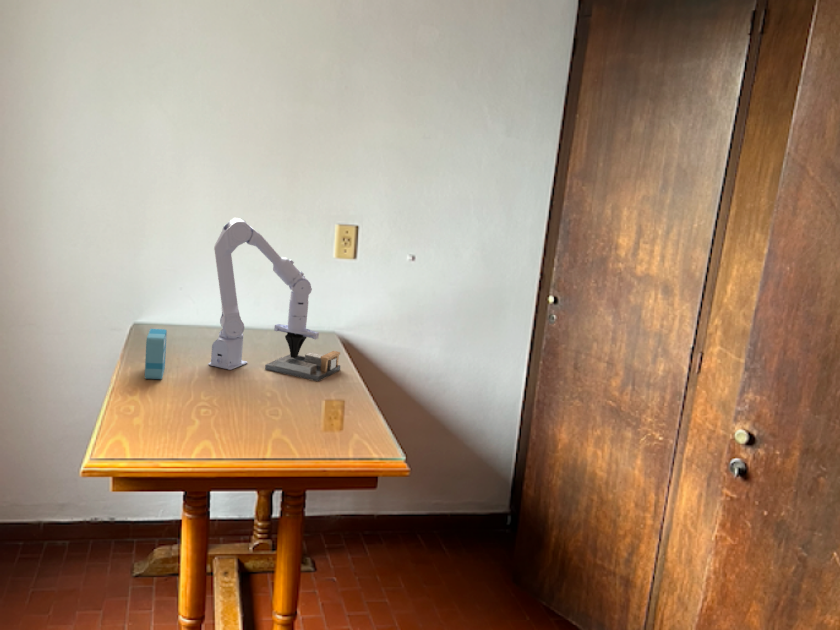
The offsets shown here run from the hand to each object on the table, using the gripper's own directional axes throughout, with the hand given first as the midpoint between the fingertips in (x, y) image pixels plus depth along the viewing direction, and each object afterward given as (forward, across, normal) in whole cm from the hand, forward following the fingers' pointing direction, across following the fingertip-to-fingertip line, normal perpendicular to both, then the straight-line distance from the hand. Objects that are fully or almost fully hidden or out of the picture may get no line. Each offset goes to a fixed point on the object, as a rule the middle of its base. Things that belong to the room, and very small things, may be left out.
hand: (294, 357), depth 244 cm
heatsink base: (+3, -5, +2) cm, 6 cm away
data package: (+3, +25, +34) cm, 43 cm away
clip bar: (+1, -9, 0) cm, 9 cm away
